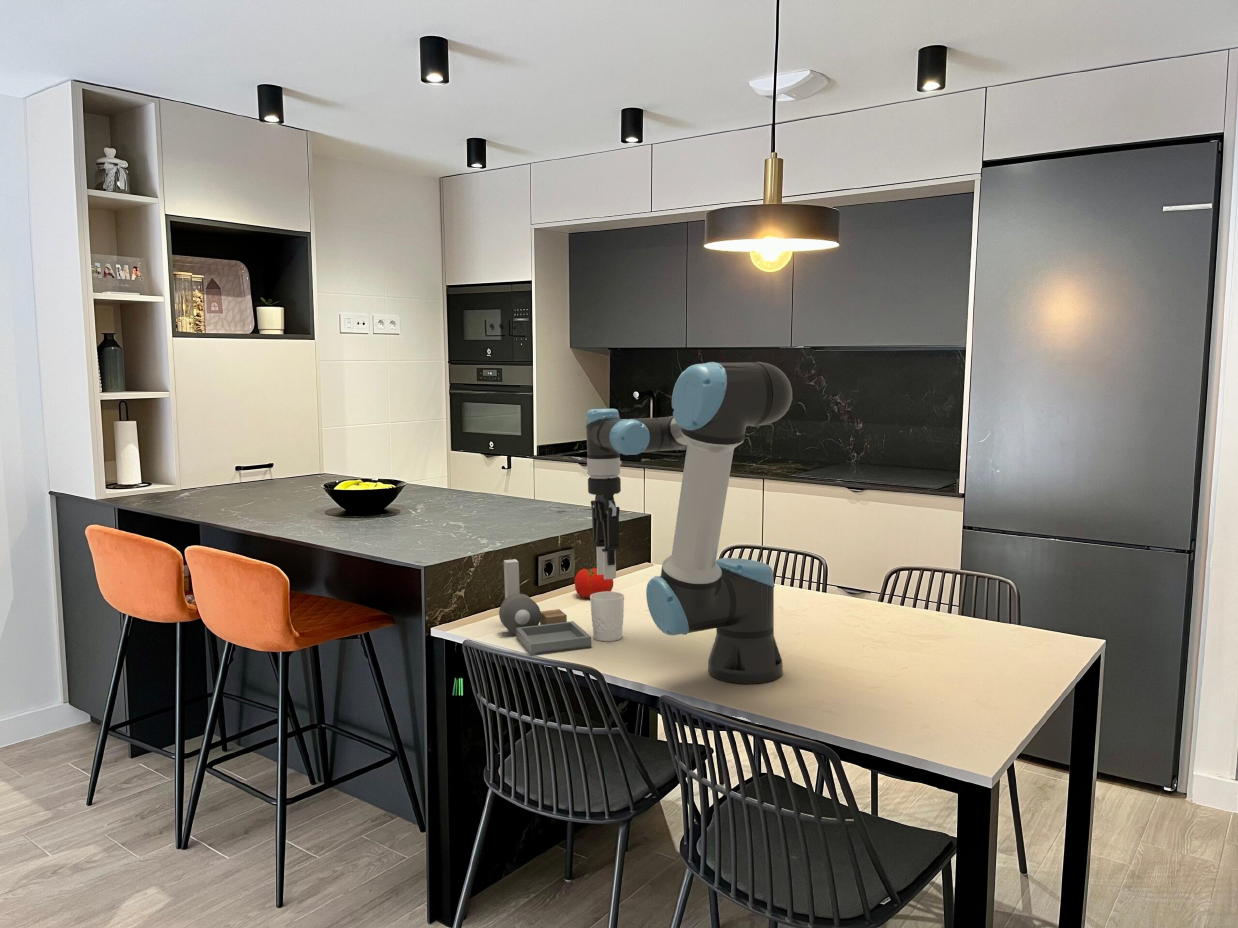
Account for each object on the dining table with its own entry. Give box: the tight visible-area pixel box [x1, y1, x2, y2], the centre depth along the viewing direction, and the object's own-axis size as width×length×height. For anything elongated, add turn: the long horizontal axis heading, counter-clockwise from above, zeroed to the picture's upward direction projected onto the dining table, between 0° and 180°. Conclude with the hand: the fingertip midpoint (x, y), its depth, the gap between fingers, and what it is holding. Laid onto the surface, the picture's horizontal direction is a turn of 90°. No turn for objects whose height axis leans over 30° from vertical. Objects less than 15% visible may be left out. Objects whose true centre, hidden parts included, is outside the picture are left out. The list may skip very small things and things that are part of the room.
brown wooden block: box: [539, 608, 568, 625], centre depth 220 cm, size 6×5×4 cm
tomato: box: [574, 567, 614, 599], centre depth 250 cm, size 11×11×8 cm
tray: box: [515, 620, 593, 656], centre depth 208 cm, size 14×14×2 cm
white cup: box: [589, 591, 625, 642], centre depth 211 cm, size 8×8×10 cm
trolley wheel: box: [498, 558, 541, 636], centre depth 219 cm, size 12×9×16 cm
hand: (606, 575), depth 210 cm, fingers open, 4 cm apart
